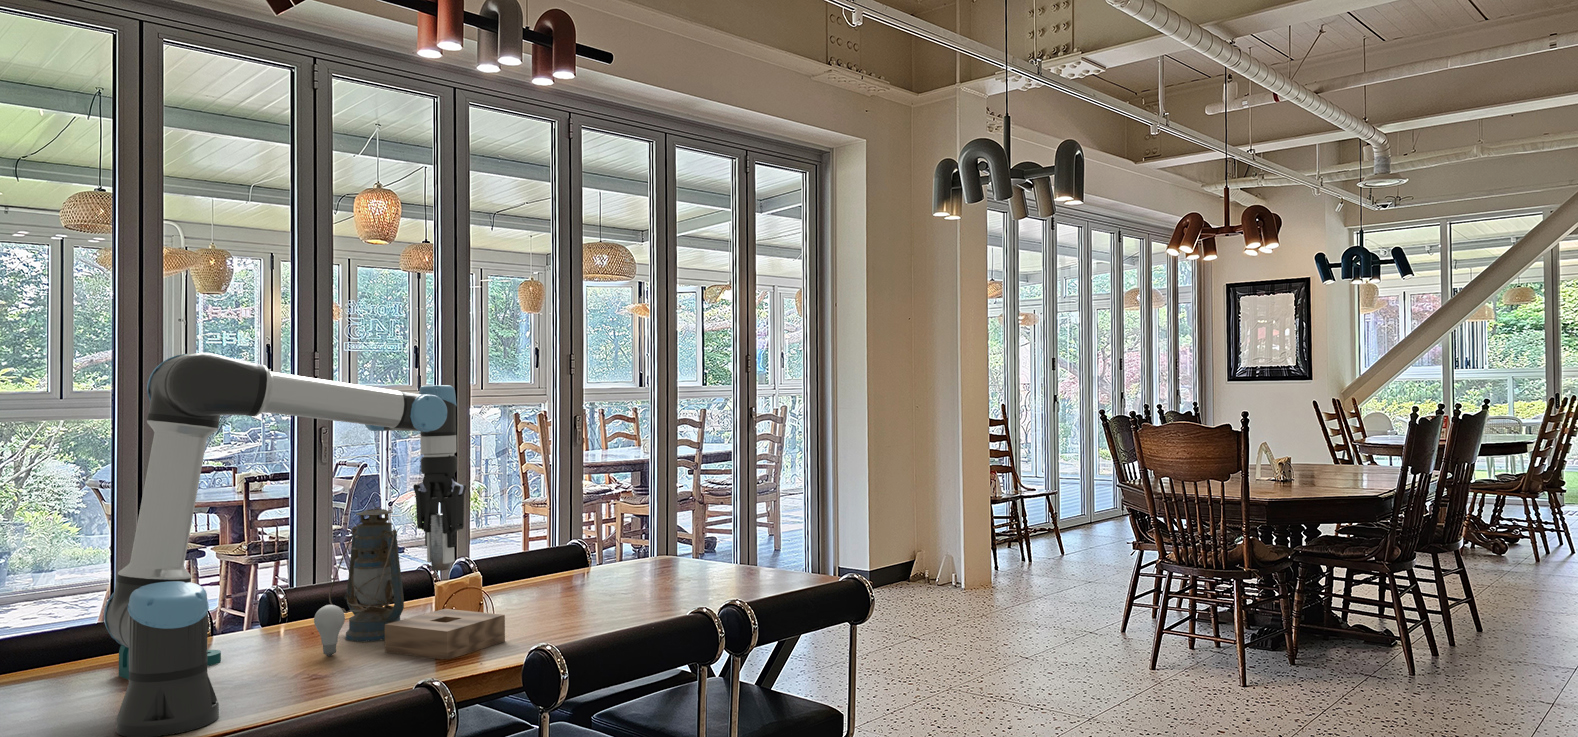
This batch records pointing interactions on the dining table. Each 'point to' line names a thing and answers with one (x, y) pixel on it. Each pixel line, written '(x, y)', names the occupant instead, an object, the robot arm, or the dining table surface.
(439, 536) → the pin
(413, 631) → the walnut block
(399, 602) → the lantern
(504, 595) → the dining table surface
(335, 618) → the lightbulb
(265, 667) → the dining table surface
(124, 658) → the bracket
